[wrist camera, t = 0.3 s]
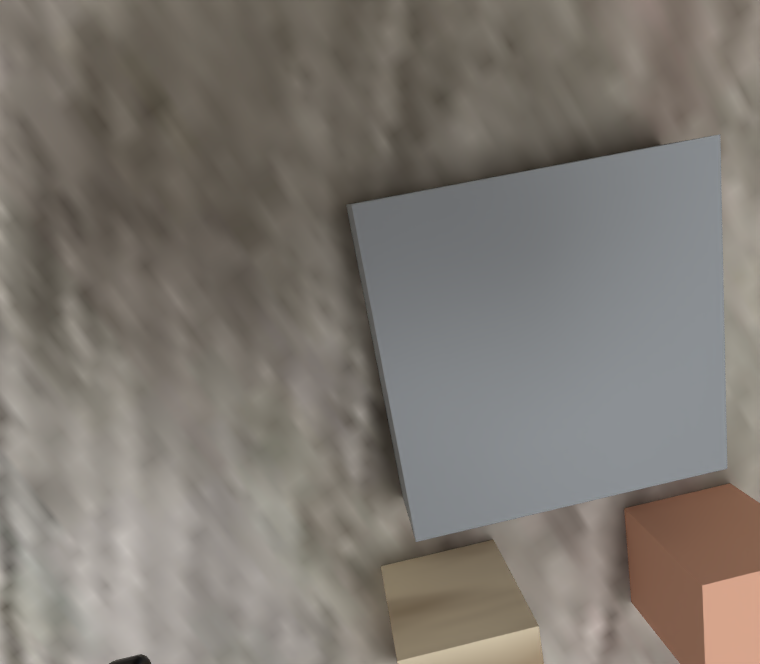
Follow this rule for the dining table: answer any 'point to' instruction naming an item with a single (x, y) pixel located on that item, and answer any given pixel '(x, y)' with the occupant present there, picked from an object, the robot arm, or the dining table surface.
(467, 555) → the birch cube
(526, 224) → the slate board
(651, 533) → the terracotta cube
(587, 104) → the dining table surface
